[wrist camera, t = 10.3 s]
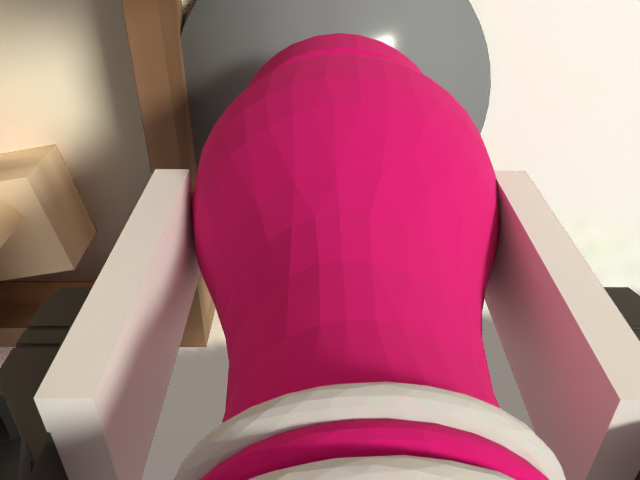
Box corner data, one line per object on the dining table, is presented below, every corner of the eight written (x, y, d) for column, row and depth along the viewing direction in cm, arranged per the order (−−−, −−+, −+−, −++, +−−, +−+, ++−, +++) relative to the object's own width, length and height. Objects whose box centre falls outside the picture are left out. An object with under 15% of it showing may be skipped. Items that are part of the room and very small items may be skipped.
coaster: (195, 225, 24) (192, 235, 23) (155, -78, 18) (149, -76, 17) (461, 226, 24) (465, 236, 23) (512, -76, 18) (520, -74, 17)
